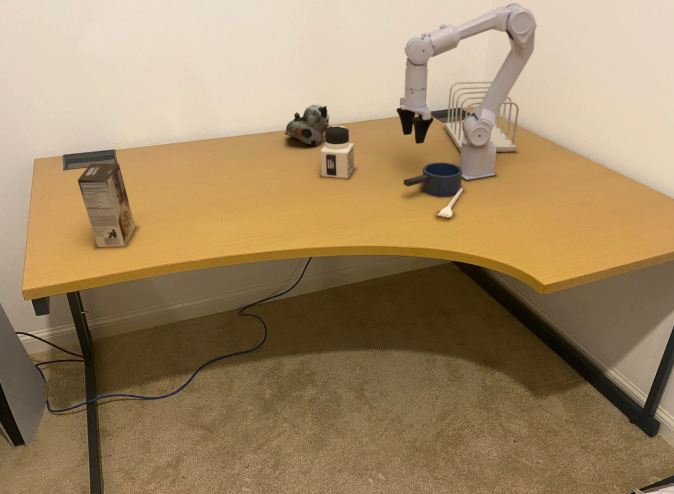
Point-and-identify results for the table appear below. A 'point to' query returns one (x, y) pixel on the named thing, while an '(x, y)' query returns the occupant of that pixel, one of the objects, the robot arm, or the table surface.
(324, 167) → the container
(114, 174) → the coffee box
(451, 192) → the pot
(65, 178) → the table surface
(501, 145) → the file sorter
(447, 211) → the fork
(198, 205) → the table surface
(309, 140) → the lucky cat figurine
